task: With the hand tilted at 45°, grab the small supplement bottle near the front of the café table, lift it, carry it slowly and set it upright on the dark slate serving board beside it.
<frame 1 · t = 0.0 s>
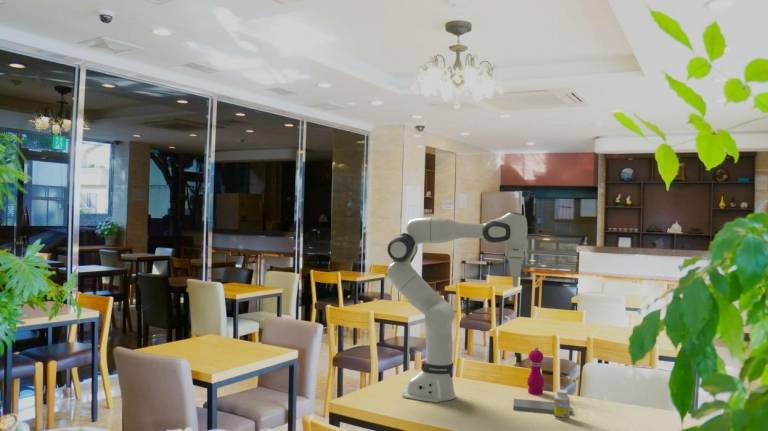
hand: (515, 285, 245), 48 cm above the table, tool pointing down, fingers open, 8 cm apart
slate board: (541, 408, 238), on the table
supplement bottle: (561, 418, 227), on the table
pepper mill: (535, 393, 259), on the table
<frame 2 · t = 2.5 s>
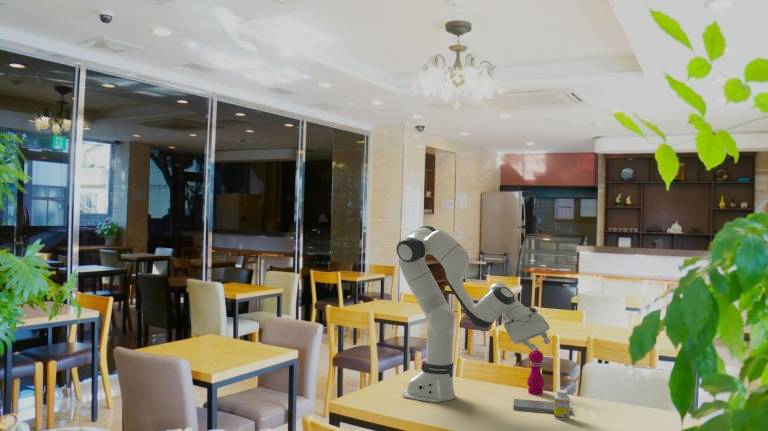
hand: (541, 346, 229), 27 cm above the table, tool tilted 45°, fingers open, 8 cm apart
nothing on the table moved.
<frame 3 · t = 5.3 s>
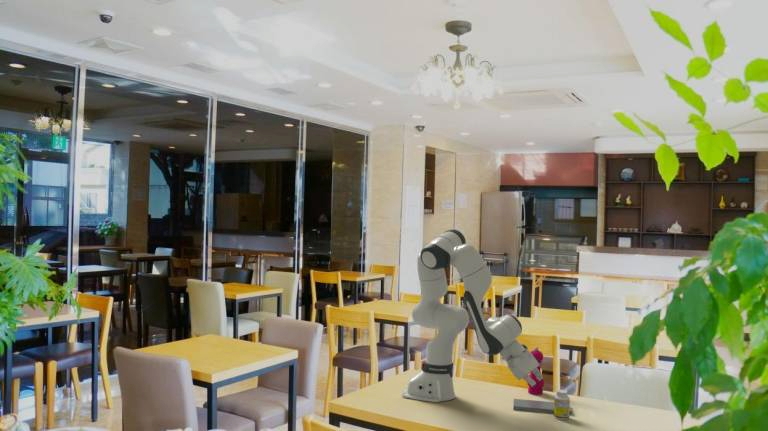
hand: (537, 382, 230), 12 cm above the table, tool tilted 45°, fingers open, 8 cm apart
nothing on the table moved.
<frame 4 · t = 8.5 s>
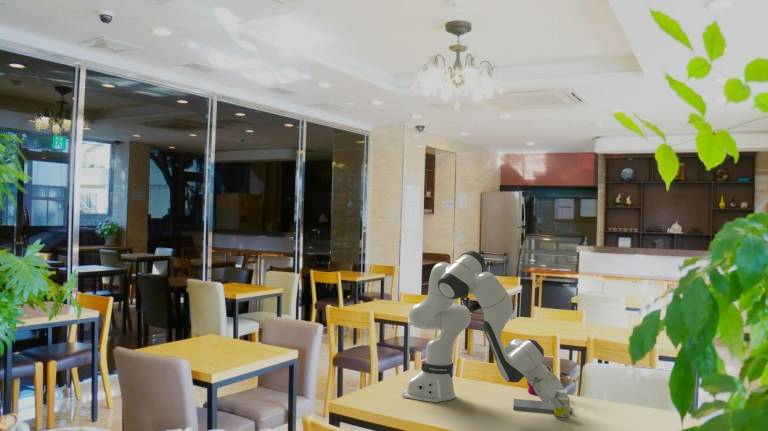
hand: (563, 405, 226), 5 cm above the table, tool tilted 45°, fingers closed on supplement bottle, 6 cm apart
supplement bottle: (561, 418, 227), on the table, touching gripper
everything else where it was.
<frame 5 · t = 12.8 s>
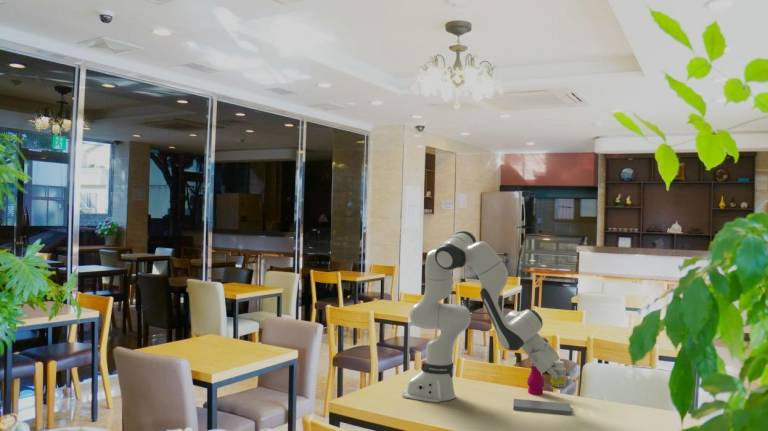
hand: (559, 375, 230), 15 cm above the table, tool tilted 45°, fingers closed on supplement bottle, 6 cm apart
supplement bottle: (557, 388, 230), point 10 cm above the table, touching gripper
everything else where it was.
when the fingers open (8 cm above the table, at t = 17.4 s): supplement bottle drops 1 cm, resting on slate board.
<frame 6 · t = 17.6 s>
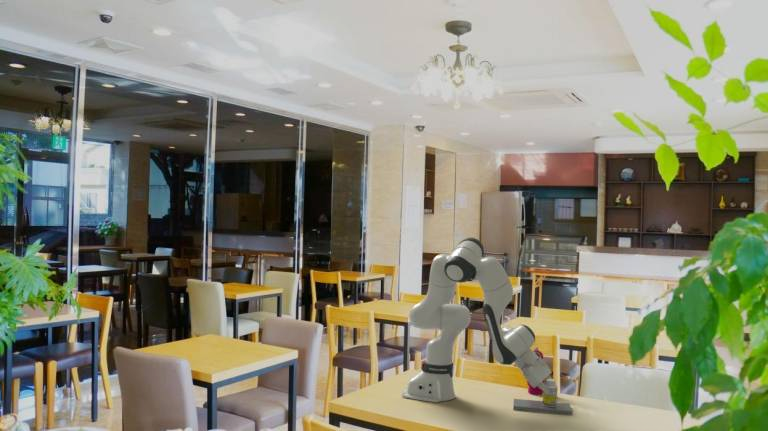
hand: (551, 389, 237), 8 cm above the table, tool tilted 45°, fingers open, 8 cm apart
supplement bottle: (549, 405, 237), point 1 cm above the table, touching slate board
everything else where it was.
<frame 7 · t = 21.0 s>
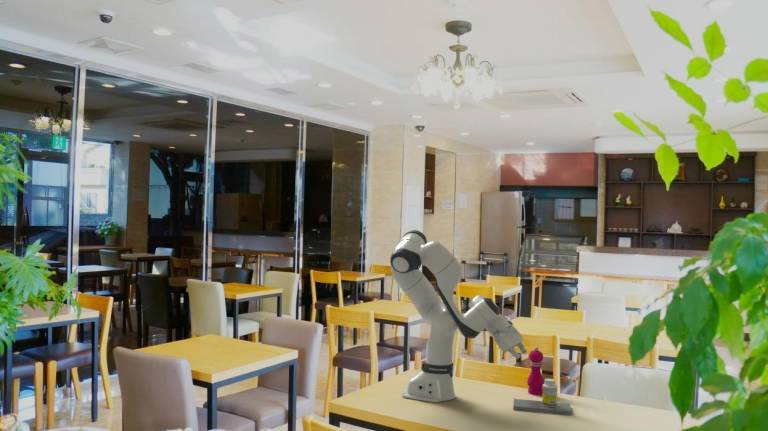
hand: (522, 355, 243), 20 cm above the table, tool tilted 45°, fingers open, 8 cm apart
nothing on the table moved.
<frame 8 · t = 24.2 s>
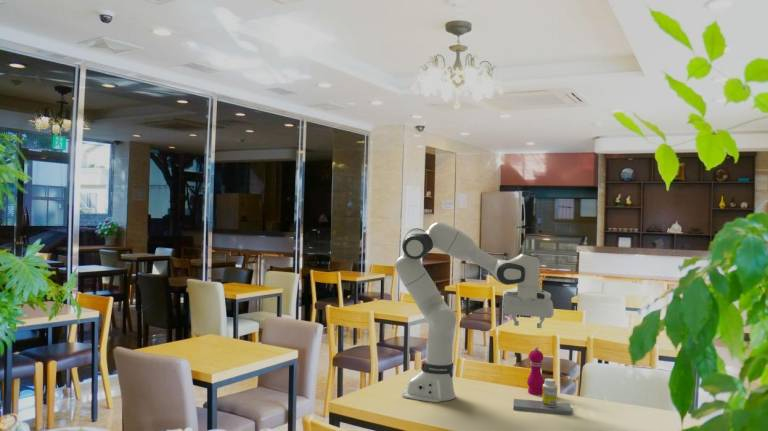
hand: (527, 326, 245), 31 cm above the table, tool pointing down, fingers open, 8 cm apart
nothing on the table moved.
at the end: supplement bottle inside the target area on the slate board (1.9 cm from its centre), point 1.3 cm above the slate board's base; supplement bottle tilted 0°; the gripper is holding nothing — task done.
